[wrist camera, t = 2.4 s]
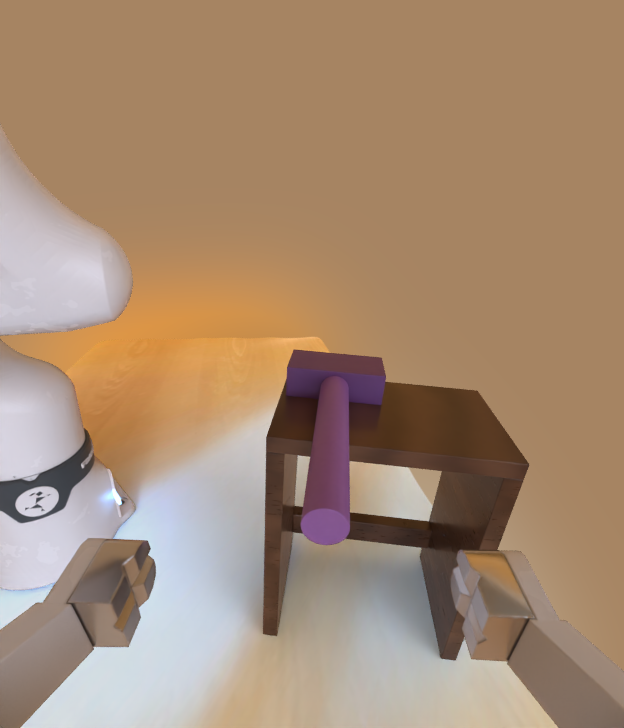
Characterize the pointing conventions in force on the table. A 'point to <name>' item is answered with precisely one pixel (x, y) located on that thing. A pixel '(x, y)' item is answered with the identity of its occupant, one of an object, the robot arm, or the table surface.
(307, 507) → the toy hammer
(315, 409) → the bench
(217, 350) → the table surface
